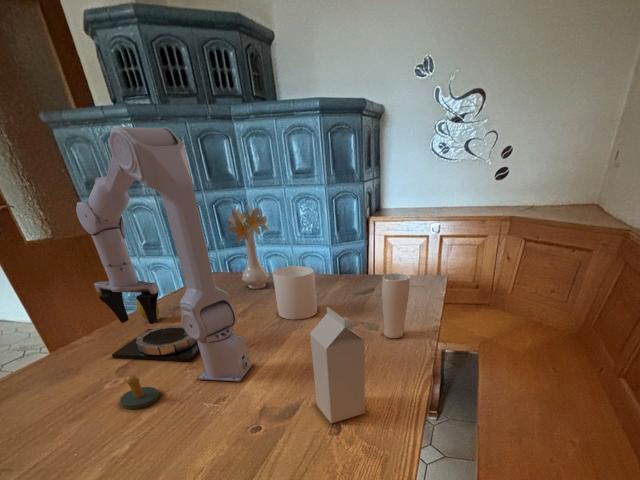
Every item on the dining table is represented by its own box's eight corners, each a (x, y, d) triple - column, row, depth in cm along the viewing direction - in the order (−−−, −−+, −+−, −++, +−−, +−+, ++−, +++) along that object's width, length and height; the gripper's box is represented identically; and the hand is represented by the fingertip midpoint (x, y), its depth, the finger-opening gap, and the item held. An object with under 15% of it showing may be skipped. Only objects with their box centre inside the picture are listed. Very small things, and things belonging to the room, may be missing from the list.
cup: (324, 310, 118) (321, 269, 111) (300, 322, 110) (295, 279, 103) (295, 303, 123) (291, 264, 116) (270, 314, 115) (263, 273, 108)
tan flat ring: (205, 333, 101) (203, 326, 100) (180, 356, 91) (177, 348, 89) (158, 331, 103) (155, 324, 102) (127, 353, 92) (124, 345, 91)
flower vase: (238, 296, 130) (221, 212, 115) (241, 280, 144) (226, 204, 129) (277, 293, 132) (265, 210, 117) (276, 278, 146) (265, 202, 131)
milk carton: (331, 424, 70) (324, 324, 59) (316, 405, 75) (307, 310, 64) (365, 414, 73) (365, 316, 61) (348, 396, 78) (345, 303, 66)
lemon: (155, 325, 110) (145, 297, 105) (138, 323, 111) (127, 295, 106) (166, 318, 114) (157, 290, 109) (150, 316, 115) (140, 289, 110)
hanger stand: (166, 391, 80) (157, 367, 77) (147, 410, 75) (136, 385, 71) (135, 390, 81) (125, 366, 78) (114, 408, 75) (102, 383, 72)
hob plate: (218, 335, 104) (217, 330, 103) (190, 362, 91) (188, 357, 90) (150, 332, 106) (148, 327, 105) (113, 358, 93) (110, 353, 92)
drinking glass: (377, 338, 101) (378, 279, 92) (385, 328, 106) (387, 271, 97) (401, 341, 99) (405, 282, 90) (409, 332, 104) (413, 274, 95)
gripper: (75, 267, 84) (101, 327, 92) (136, 268, 82) (157, 329, 90) (97, 259, 89) (120, 316, 97) (154, 260, 88) (173, 318, 96)
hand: (139, 322), depth 94 cm, fingers open, 7 cm apart
